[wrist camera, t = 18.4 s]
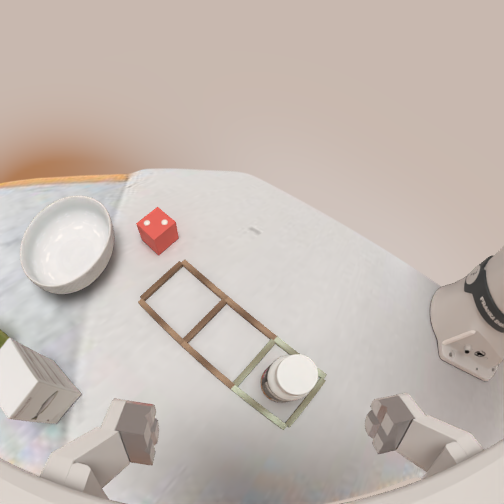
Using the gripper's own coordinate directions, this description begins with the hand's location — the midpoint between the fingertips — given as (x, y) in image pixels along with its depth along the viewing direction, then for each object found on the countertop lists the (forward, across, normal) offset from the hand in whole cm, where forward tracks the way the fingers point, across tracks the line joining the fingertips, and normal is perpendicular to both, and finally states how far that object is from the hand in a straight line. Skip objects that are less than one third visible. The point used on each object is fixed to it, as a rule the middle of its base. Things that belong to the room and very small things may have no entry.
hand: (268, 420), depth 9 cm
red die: (+41, +13, +2) cm, 43 cm away
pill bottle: (+25, -6, +19) cm, 32 cm away
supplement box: (+22, +27, +22) cm, 41 cm away
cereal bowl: (+38, +27, +6) cm, 47 cm away
